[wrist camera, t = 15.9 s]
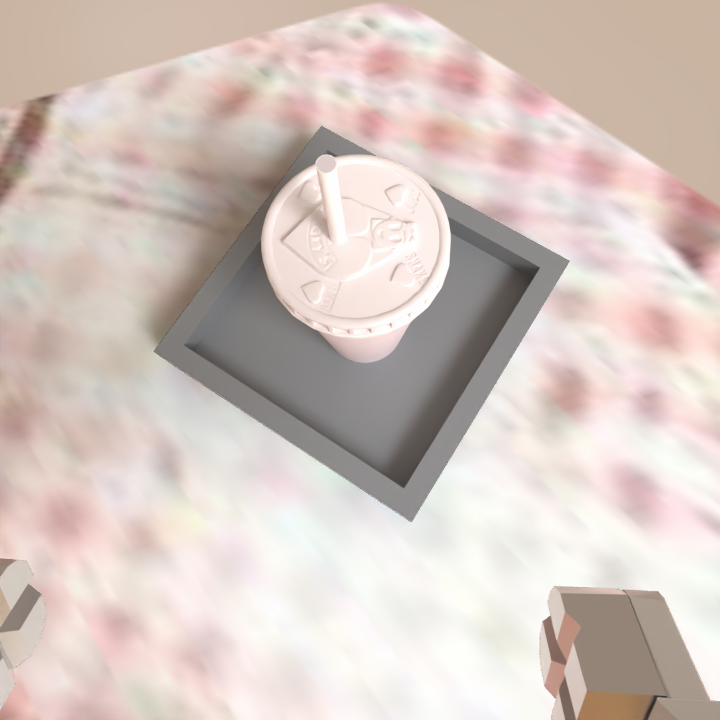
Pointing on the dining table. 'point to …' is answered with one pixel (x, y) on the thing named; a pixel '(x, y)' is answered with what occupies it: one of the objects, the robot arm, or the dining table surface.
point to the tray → (375, 379)
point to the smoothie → (357, 251)
